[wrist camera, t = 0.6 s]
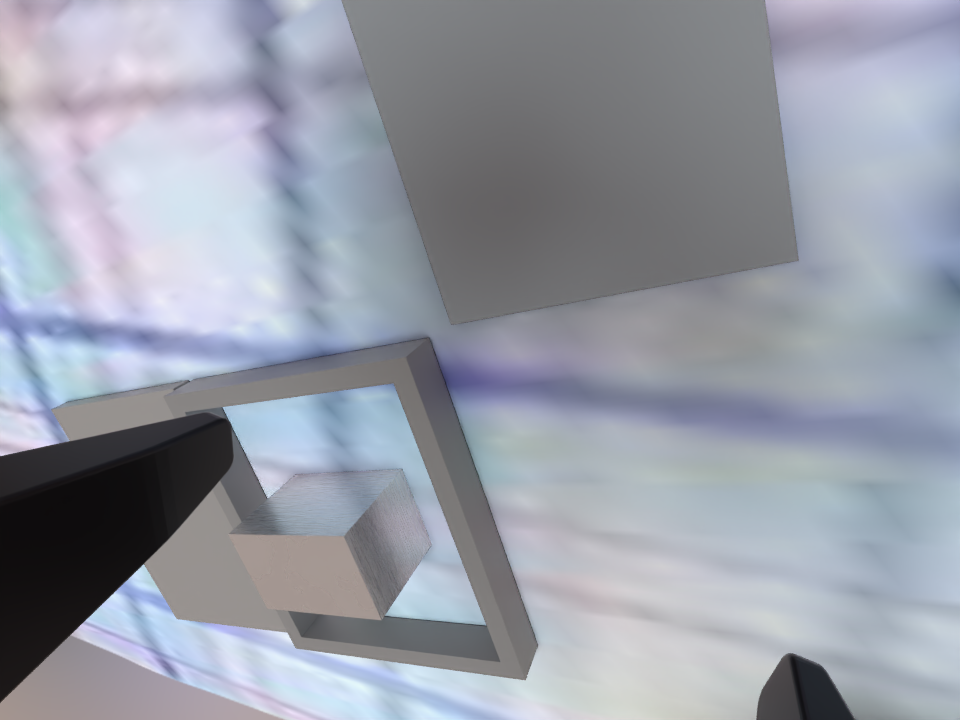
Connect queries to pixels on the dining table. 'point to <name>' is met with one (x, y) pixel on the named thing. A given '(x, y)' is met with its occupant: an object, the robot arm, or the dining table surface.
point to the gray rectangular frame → (204, 535)
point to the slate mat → (580, 143)
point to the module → (334, 543)
